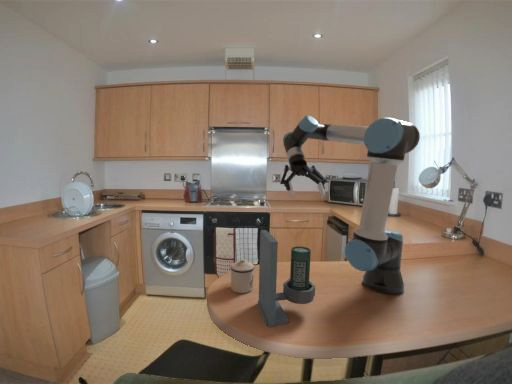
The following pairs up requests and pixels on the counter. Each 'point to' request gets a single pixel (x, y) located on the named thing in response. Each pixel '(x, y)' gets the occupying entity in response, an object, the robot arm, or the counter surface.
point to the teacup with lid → (242, 276)
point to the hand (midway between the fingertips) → (308, 196)
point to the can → (300, 268)
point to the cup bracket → (267, 284)
